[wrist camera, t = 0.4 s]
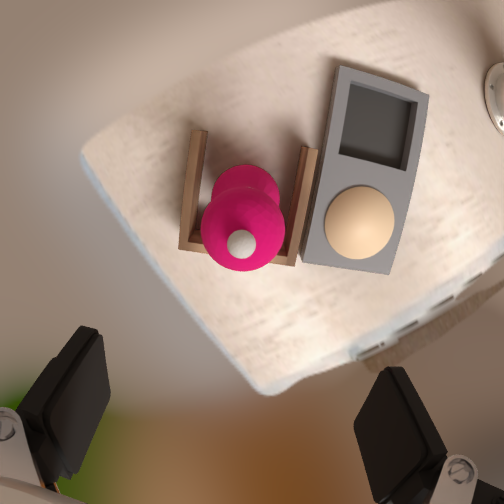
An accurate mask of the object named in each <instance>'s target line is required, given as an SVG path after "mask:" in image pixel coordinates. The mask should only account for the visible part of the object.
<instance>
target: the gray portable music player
mask: <svg viewBox="0 0 504 504" xmlns="http://www.w3.org/2000/svg"><path fill="white" fill-rule="evenodd" d="M428 102H429V95H428V94H425V93H423V92H420V91H418V90H415V89H413V88H410V87H407V86H405V85H402V84H399V83H396V82H394V81H391V80H388V79H385V78H382V77H379V76H376V75H373V74H369V73H366V72H363V71H359V70H356V69H353V68H349V67H345V66H342V65H339V66H338V67H337V68H336V70H335V76H334V83H333V89H332V95H331V101H330V107H329V113H328V119H327V125H326V131H325V136H324V142H323V147H322V153H321V158H320V163H319V169H318V174H317V179H316V184H315V189H314V194H313V199H312V204H311V209H310V214H309V218H308V223H307V228H306V233H305V237H304V242H303V246H302V251H301V255H300V257H301V260H302V262H303V263H310V264H317V265H324V266H330V267H337V268H344V269H351V270H358V271H365V272H372V273H378V274H385V275H389V274H390V271H391V267H392V264H393V261H394V258H395V254H396V251H397V248H398V244H399V241H400V237H401V234H402V230H403V226H404V223H405V219H406V215H407V211H408V207H409V203H410V199H411V195H412V190H413V186H414V182H415V177H416V172H417V167H418V162H419V157H420V152H421V147H422V141H423V135H424V129H425V123H426V116H427V109H428Z"/></svg>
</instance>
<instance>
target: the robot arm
mask: <svg viewBox="0 0 504 504" xmlns="http://www.w3.org/2000/svg"><path fill="white" fill-rule="evenodd" d="M485 99H486V104H487V108H488V112H489V114H490V117H491V119H492V121H493V123H494V125H495V126H496V128H497V129H498V131H499V132H500V133H501V134H502V135H503V136H504V62H502V63H497V64H495V65H493V66H492V67H491V68H490V69H489V71H488V73H487V76H486V80H485ZM110 393H111V392H110V386H109V379H108V373H107V366H106V359H105V351H104V343H103V337H102V335H100V334H99V333H98V330H96V329H93V328H90V327H85V326H80V327H79V328H78V329H77V330H76V332H75V333H74V334H73V336H72V337H71V338H70V340H69V341H68V342H67V343H66V345H65V346H64V347H63V349H62V350H61V352H60V353H59V354H58V356H57V357H55V358H53V359H52V360H51V361H50V362H49V363H48V365H47V366H46V368H45V369H44V370H43V372H42V373H41V374H40V376H39V377H38V378H37V380H36V381H35V383H34V384H33V386H32V387H31V388H30V390H29V391H28V393H27V394H26V396H25V397H24V398H23V400H22V402H21V403H20V404H19V406H18V407H17V409H16V411H13V410H11V409H9V408H5V407H0V504H87V503H84V502H81V501H78V500H75V499H72V498H70V497H67V496H64V495H62V494H60V493H59V490H58V487H57V485H56V483H55V482H57V480H58V478H59V476H62V477H64V478H67V479H71V477H72V475H73V473H74V474H77V473H78V471H79V469H80V467H81V465H82V462H83V460H84V457H85V455H86V452H87V450H88V448H89V445H90V443H91V440H92V438H93V436H94V434H95V431H96V429H97V426H98V424H99V422H100V420H101V418H102V415H103V413H104V411H105V409H106V406H107V404H108V402H109V399H110ZM354 432H355V435H356V438H357V442H358V445H359V448H360V452H361V456H362V459H363V462H364V466H365V470H366V473H367V477H368V480H369V484H370V488H371V492H372V495H373V499H374V501H375V502H376V503H378V504H504V491H503V490H501V489H499V488H496V487H494V486H492V485H490V484H488V483H485V482H483V481H481V480H479V479H477V478H478V471H477V467H476V466H475V464H474V463H473V462H472V461H471V460H470V459H469V458H467V457H465V456H462V455H453V456H450V457H449V458H447V456H446V454H447V452H448V451H447V449H446V447H445V445H444V443H443V441H442V439H441V437H440V435H439V433H438V431H437V429H436V427H435V426H434V423H433V422H432V420H431V418H430V416H429V414H428V412H427V410H426V408H425V406H424V405H423V402H422V401H421V399H420V397H419V395H418V393H417V391H416V389H415V388H414V386H413V384H412V382H411V381H410V379H409V377H408V375H407V373H406V372H405V370H404V368H403V367H386V368H385V369H384V371H381V372H380V373H379V375H378V377H377V379H376V381H375V383H374V385H373V387H372V389H371V391H370V393H369V395H368V397H367V399H366V401H365V402H364V404H363V406H362V408H361V410H360V412H359V414H358V415H357V417H356V419H355V421H354Z"/></svg>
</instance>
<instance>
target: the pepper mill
mask: <svg viewBox="0 0 504 504" xmlns="http://www.w3.org/2000/svg"><path fill="white" fill-rule="evenodd" d="M279 202H280V197H279V190H278V187H277V184H276V182H275V181H274V179H273V178H272V177H271V175H270V174H269V173H267V172H266V171H265V170H263V169H261V168H259V167H257V166H253V165H238V166H234V167H232V168H230V169H228V170H226V171H225V172H224V173H222V174H221V176H220V177H219V178H218V179H217V181H216V182H215V184H214V187H213V190H212V196H211V202H210V203H209V204H208V206H207V208H206V209H205V211H204V214H203V217H202V221H201V238H202V242H203V244H204V247H205V249H206V251H207V252H208V254H209V255H210V256H211V257H212V258H213V260H215V261H216V262H217V263H218V264H220V265H222V266H223V267H225V268H228V269H231V270H235V271H251V270H256V269H258V268H260V267H263V266H264V265H266V264H267V263H269V262H270V261H271V260H272V259H273V258H274V257H275V256H276V255H277V253H278V251H279V250H280V248H281V246H282V244H283V240H284V236H285V223H284V217H283V215H282V212H281V210H280V208H279Z"/></svg>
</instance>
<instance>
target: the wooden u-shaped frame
mask: <svg viewBox="0 0 504 504" xmlns="http://www.w3.org/2000/svg"><path fill="white" fill-rule="evenodd" d="M207 134H208V132H207V131H199V130H192V131H191V138H190V146H189V153H188V160H187V168H186V176H185V185H184V194H183V203H182V212H181V223H180V233H179V245H178V249H179V250H186V251H192V252H199V253H206V254H208V252H207V251H206V249H205V247H204V244H203V242H202V238H201V230H197V229H195V226H196V217H197V209H198V200H199V192H200V184H201V176H202V169H203V162H204V154H205V147H206V141H207ZM317 154H318V149H313V148H308V147H302V146H301V151H300V157H299V162H298V168H297V173H296V179H295V184H294V189H293V195H292V200H291V205H290V210H289V216H288V221H287V226H286V231H285V236H284V241H283V244H282V246H281V248H280V250H279V251H278V253H277V255H276V256H275V257H274V258H273V259H272V260H271V261H270V262H269V263H273V264H280V265H287V266H294V267H295V262H296V258H297V253H298V248H299V244H300V239H301V234H302V230H303V225H304V220H305V215H306V211H307V206H308V201H309V196H310V191H311V186H312V180H313V175H314V170H315V165H316V159H317Z"/></svg>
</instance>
